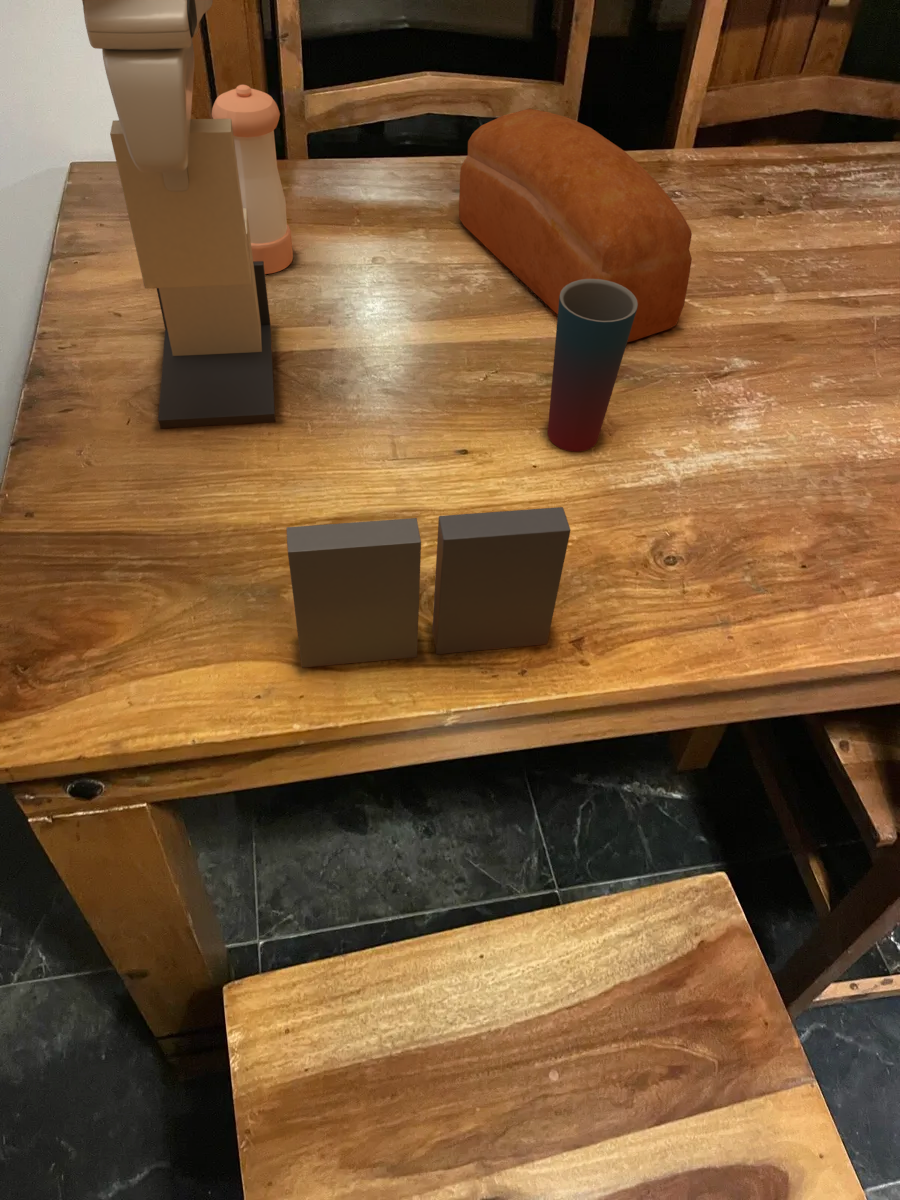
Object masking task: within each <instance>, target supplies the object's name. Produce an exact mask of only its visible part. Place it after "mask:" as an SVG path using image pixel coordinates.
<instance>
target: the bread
mask: <svg viewBox="0 0 900 1200" xmlns="http://www.w3.org/2000/svg"><path fill="white" fill-rule="evenodd" d="M458 193H459V194H458V196H459V197H458V218H459V220H460V222H461V224H462V225H463V227H465V228H466V230H467V231H469V232H470V233H471V234H472V235H473V236H474V237H475V238H476V239H477V240H478V241H479V242H480V243H482V245H483V246H484V247H486V249H487V250H488V251H490V252H491V253H492V255H494V256H495V258H497V259H498V260H499V261H500V262H501V263H502V264H503V265H504V266H506V268H508V269H509V271H511V272H512V273H513V274H514V275H515V276H516V277H517V278H518V279H519V280H520V281H521V282H522V283H523V284H525V285H526V286H527V287H528V289H530V290H531V291H532V292H533V294H535V295H536V296H537V297H538V298H539V299H540V300H541V301H542V302H543V303H544V304H545V305H546V306H548V307H549V309H551V310H552V312H554V313H555V314H556V315H558V307H559V295H560V292H561V290H562V289H563V288H564V287H565V286H566V285H567V284H569V283H571V282H574V281H577V280H582V279H602V280H607V281H611V282H614V283H617V284H619V285H622V286H623V287H625V288H627V289H628V290H629V291H631V292H632V293H633V294H634V296H635V297H636V299H637V303H638V307H637V311H636V314H635V318H634V321H633V324H632V328H631V331H630V334H629V338H628V341H627V343H629V342H634V341H636V340H637V341H638V340H639V339H644V338H646V337H649V336H651V335H654V334H657V333H661V332H663V331H667V330H669V329H671V328H673V327H675V326H677V324H678V322H679V319H680V316H681V314H682V311H683V309H684V306H685V302H686V297H687V291H688V285H689V280H690V274H691V267H692V260H693V259H692V255H691V251H690V248H691V241H692V235H693V233H692V229H691V227H690V225H689V224H688V222H687V221H686V218H685V217H684V215H683V214H682V212H681V211H680V209H679V208H678V206H677V205H676V204H675V202H674V201H673V200H672V198H671V197H670V196H669V195H668V194H667V193H666V192H665V190H664V189H663V188H662V186H661V185H660V184H659V183H658V181H657V180H656V179H655V178H654V177H653V176H652V175H651V174H650V173H648V171H646V170H645V168H643V167H642V166H641V165H640V164H639V163H638V161H636V160H635V159H634V157H632V156H631V155H630V154H628V153H627V152H626V151H625V150H624V149H622V148H621V147H619V146H618V145H617V144H615V143H613V142H612V141H610V140H609V139H607V138H606V137H604V136H603V135H602V134H600V133H599V132H598V131H596V130H594V129H593V128H592V127H590V126H588V125H585V124H583V123H581V122H579V121H577V120H574V119H572V118H570V117H567V116H563V115H560V114H556V113H553V112H549V111H545V110H539V109H533V108H526V109H523V110H518V111H515V112H511V113H507V114H504V115H501V116H499V117H497V118H495V119H492V120H490V121H488V122H487V123H484V124H482V125H480V126H479V127H478V128H477V129H475V130H474V131H473V133H472V134H471V136H470V137H469V139H468V140H467V156H466V157H465V159H464V161H463V163H462V164H461V166H460V170H459V192H458Z"/></svg>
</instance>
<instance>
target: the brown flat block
mask: <svg viewBox="0 0 900 1200" xmlns="http://www.w3.org/2000/svg"><path fill="white" fill-rule="evenodd" d="M109 132H110V133H109V135H110V140H111V141H110V142H111V145H112V150H113V153H114V158H115V163H116V166H117V171H118V176H119V179H120V184H121V189H122V193H123V197H124V202H125V207H126V211H127V216H128V220H129V225H130V228H131V232H132V233H131V234H132V238H133V241H134V242H133V243H134V248H135V251H136V255H137V259H138V264H139V269H140V274H141V277H142V282H143V286H144V289H145V290H146V289H157V288H176V287H202V286H227V285H250V284H251V269H250V261H249V253H248V245H247V237H246V230H245V222H244V214H243V206H242V198H241V190H240V183H239V175H238V167H237V159H236V151H235V144H234V136H233V128H232V120H231V119H213V118H194V119H193V118H191V122H190V137H189V151H188V166H187V168H188V174H189V188H188V190H187V191H178V192H171V191H169V190H167V188H166V187H165V182H164V177H163V172H141V171H139V170H138V169H137V167H136V166H135V164H134V162H133V160H132V158H131V156H130V154H129V151H128V148H127V145H126V142H125V138H124V135H123V132H122V128H121V125H120V122H119V119H118V120H117V119H116V120H112V123H111V127H110V131H109Z"/></svg>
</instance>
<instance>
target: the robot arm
mask: <svg viewBox="0 0 900 1200" xmlns="http://www.w3.org/2000/svg"><path fill="white" fill-rule="evenodd" d="M213 1H214V0H81V2H82V5H83V7H82V10H83V16H84V24H85V30H86V33H87V37H88V43H89V44H90V46H91V47H92V48H93V49H98V50H101V51H102V60H103V65H104V70H105V75H106V78H107V82H108V85H109V89H110V94H111V96H112V100H113V104H114V107H115V111H116V114H117V118H118V120H119V122H120V125H121V128H122V132H123V135H124V138H125V142H126V145H127V148H128V151H129V154H130V156H131V158H132V160H133V162H134V164H135V166H136V167H137V169H138V170H139V171H141V172H163V177H164V182H165V187H166V188H167V190H169V191H171V192H178V191H187V190H188V188H189V174H188V168H187V166H188V151H189V137H190V122H191V119H192V107H193V93H194V91H193V90H194V80H195V79H194V78H195V64H196V63H195V50H194V42H193V38H194V37H195V35H196V34H198V32H199V23H200V22H201V20H202V18H203V16H204V14H206V13H207V12H208V11H209V10H210V9H211V8H212V6H213Z"/></svg>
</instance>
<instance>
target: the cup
mask: <svg viewBox="0 0 900 1200" xmlns="http://www.w3.org/2000/svg"><path fill="white" fill-rule="evenodd" d="M637 307H638V303H637V299H636V297H635V296H634V294H633V293H632V292H631V291H629V290H628V289H627V288H625V287H623V286H622V285H619V284H617V283H614V282H611V281H607V280H602V279H582V280H577V281H574V282H571V283H569V284H567V285H566V286H565V287H564V288H563V289H562V290H561V292H560V295H559V307H558V314H557V319H556V330H555V342H554V353H553V354H554V355H553V363H552V364H553V367H552V377H551V386H550V387H551V388H550V391H551V392H550V399H549V411H548V424H547V436H548V437H547V438H548V439H549V441H550V442H551V443H552V444H553V445H554V446H556V447H558V449H561V450H564V451H566V452H567V451H568V452H574V453H575V452H576V453H577V452H578V453H579V452H585V451H588V450H591V449H592V448H594V447H595V446H596V445H597V444H598V441H599V437H600V434H601V431H602V428H603V425H604V421H605V418H606V414H607V411H608V408H609V404H610V401H611V398H612V394H613V391H614V387H615V384H616V381H617V379H618V378H617V377H618V374H619V371H620V367H621V364H622V361H623V357H624V355H625V351H626V347H627V344H628V342H627V341H628V338H629V334H630V331H631V328H632V324H633V321H634V318H635V314H636V311H637Z"/></svg>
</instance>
